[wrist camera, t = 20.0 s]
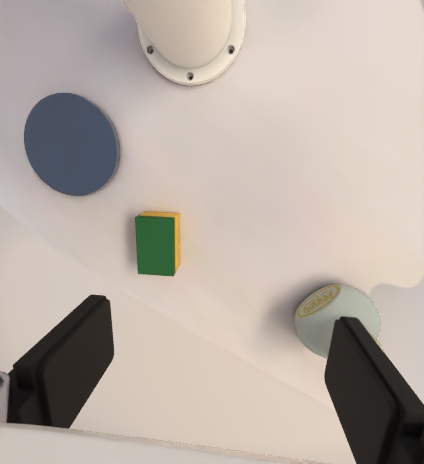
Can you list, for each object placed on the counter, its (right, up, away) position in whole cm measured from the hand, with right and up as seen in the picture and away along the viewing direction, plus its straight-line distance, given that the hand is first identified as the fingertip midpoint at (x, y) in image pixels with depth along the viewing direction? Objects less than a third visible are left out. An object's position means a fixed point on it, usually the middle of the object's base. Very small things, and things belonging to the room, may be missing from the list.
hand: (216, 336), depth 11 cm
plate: (-19, +16, +25) cm, 35 cm away
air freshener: (+17, -7, +28) cm, 34 cm away
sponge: (-7, +3, +27) cm, 28 cm away
